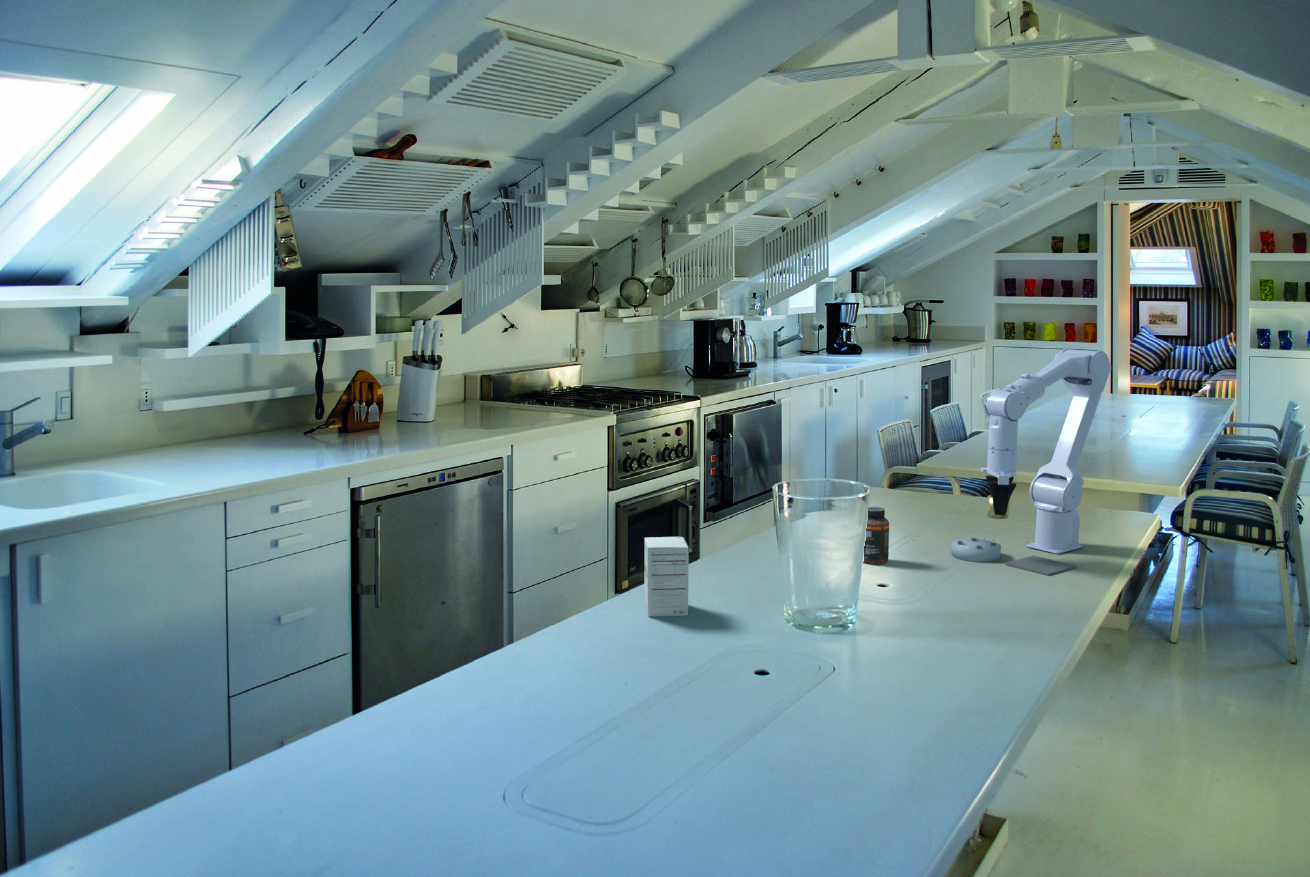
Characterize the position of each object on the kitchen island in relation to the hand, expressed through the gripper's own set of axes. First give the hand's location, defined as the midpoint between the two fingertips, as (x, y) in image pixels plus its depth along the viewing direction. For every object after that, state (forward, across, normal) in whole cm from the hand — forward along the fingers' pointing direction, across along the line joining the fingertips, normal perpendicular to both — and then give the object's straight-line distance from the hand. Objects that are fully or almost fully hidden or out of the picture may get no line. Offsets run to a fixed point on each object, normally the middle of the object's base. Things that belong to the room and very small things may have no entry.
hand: (998, 512), depth 222 cm
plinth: (+10, -2, -4) cm, 11 cm away
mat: (+10, +4, +8) cm, 14 cm away
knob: (+1, 0, 0) cm, 1 cm away
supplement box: (+10, +51, -60) cm, 79 cm away
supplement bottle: (+10, +8, -25) cm, 28 cm away
